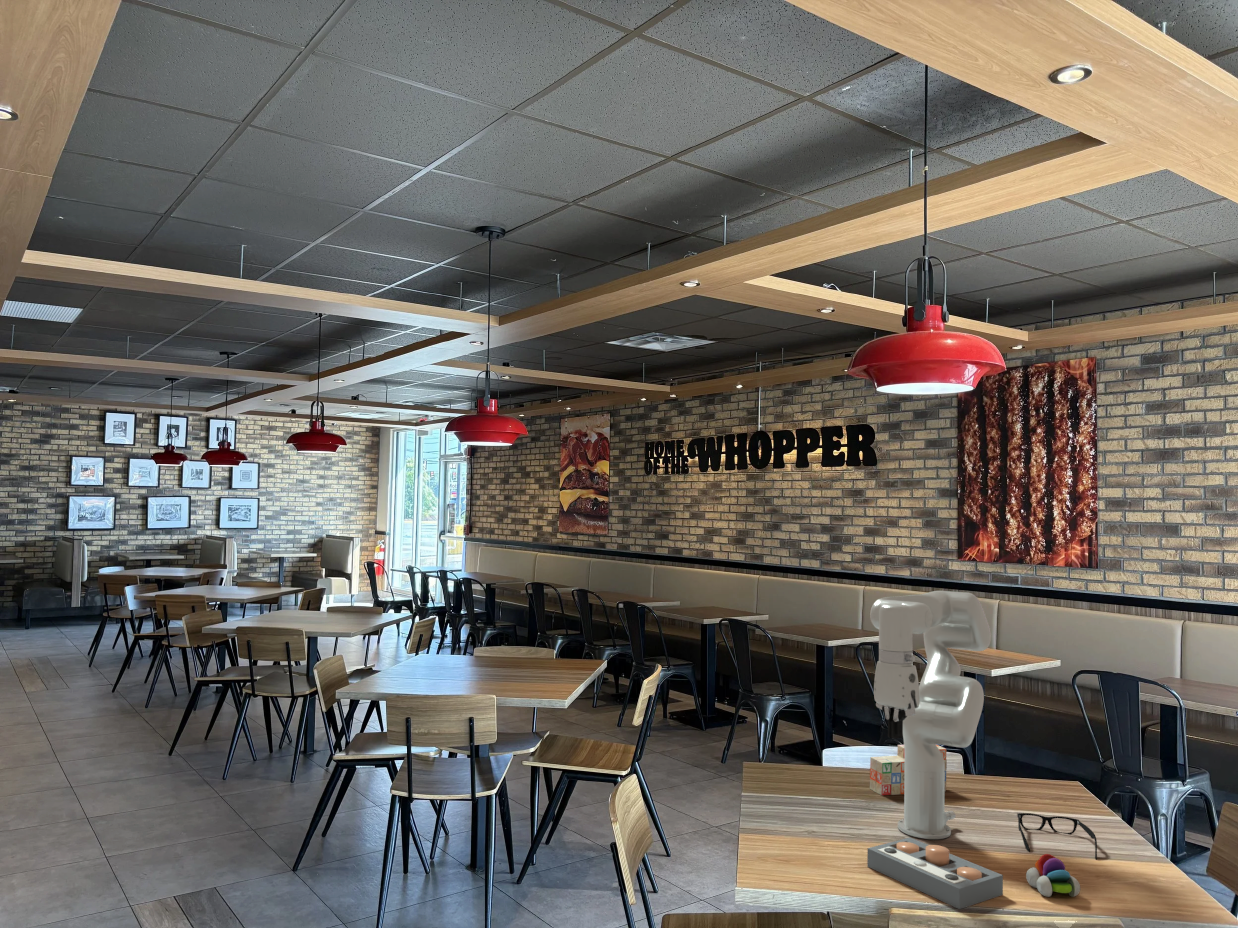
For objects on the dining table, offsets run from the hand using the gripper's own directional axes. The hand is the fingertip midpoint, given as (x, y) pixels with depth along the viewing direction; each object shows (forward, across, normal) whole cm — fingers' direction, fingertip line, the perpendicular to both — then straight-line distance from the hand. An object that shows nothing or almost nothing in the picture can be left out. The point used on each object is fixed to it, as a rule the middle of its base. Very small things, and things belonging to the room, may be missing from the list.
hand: (895, 737), depth 202 cm
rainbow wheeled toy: (+28, -29, -15) cm, 43 cm away
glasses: (+28, -12, -42) cm, 52 cm away
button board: (+27, -13, +3) cm, 30 cm away
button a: (+26, -5, +2) cm, 26 cm away
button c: (+26, -21, +1) cm, 33 cm away
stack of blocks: (+28, +33, -43) cm, 61 cm away
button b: (+24, -13, +1) cm, 27 cm away
